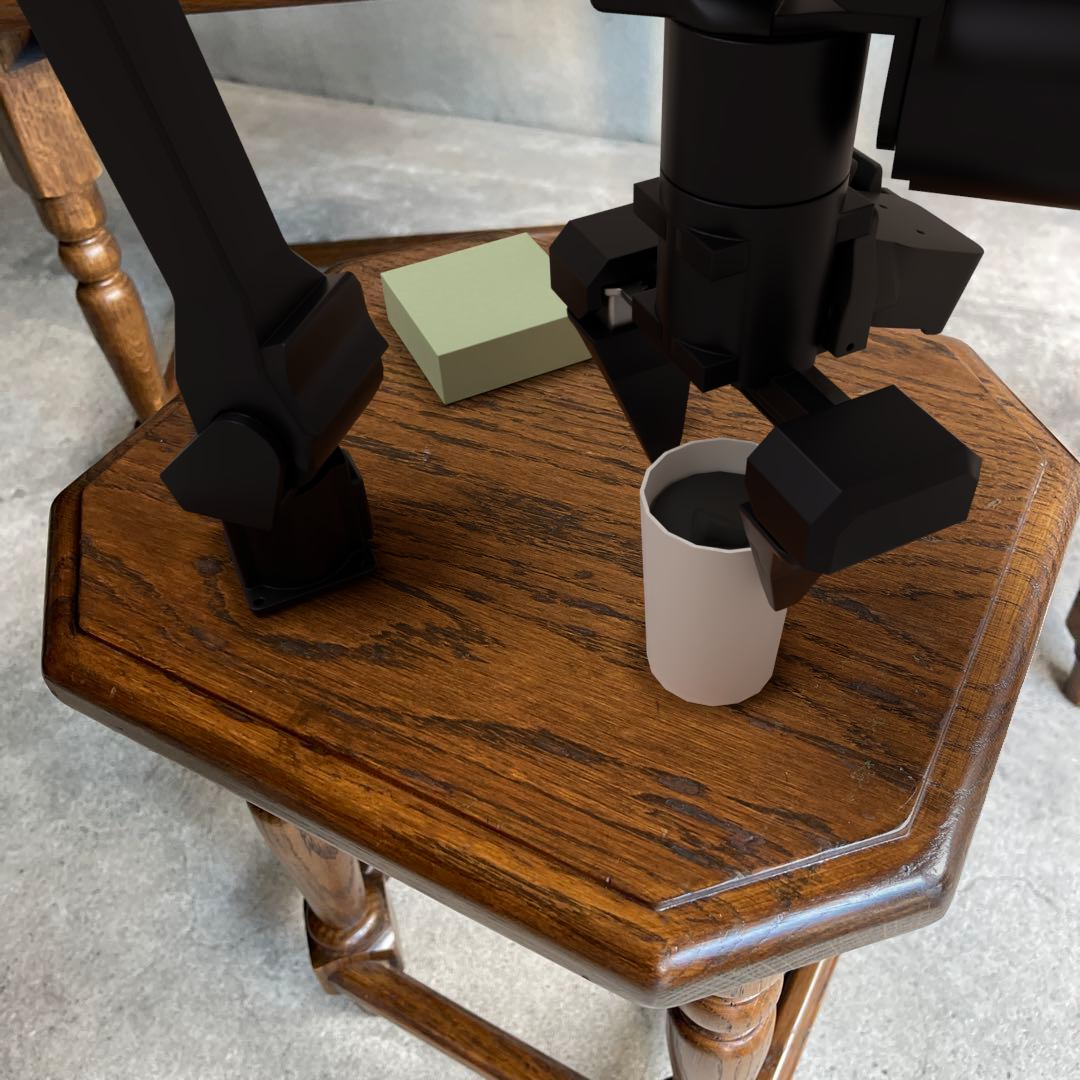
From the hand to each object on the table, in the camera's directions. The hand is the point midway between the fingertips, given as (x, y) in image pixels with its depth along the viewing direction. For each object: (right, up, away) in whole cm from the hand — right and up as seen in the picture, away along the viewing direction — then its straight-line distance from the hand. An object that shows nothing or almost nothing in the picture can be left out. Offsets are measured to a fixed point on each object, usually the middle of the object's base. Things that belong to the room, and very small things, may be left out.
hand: (719, 529), depth 45 cm
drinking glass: (+1, -6, +6) cm, 8 cm away
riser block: (-10, +12, +24) cm, 29 cm away
